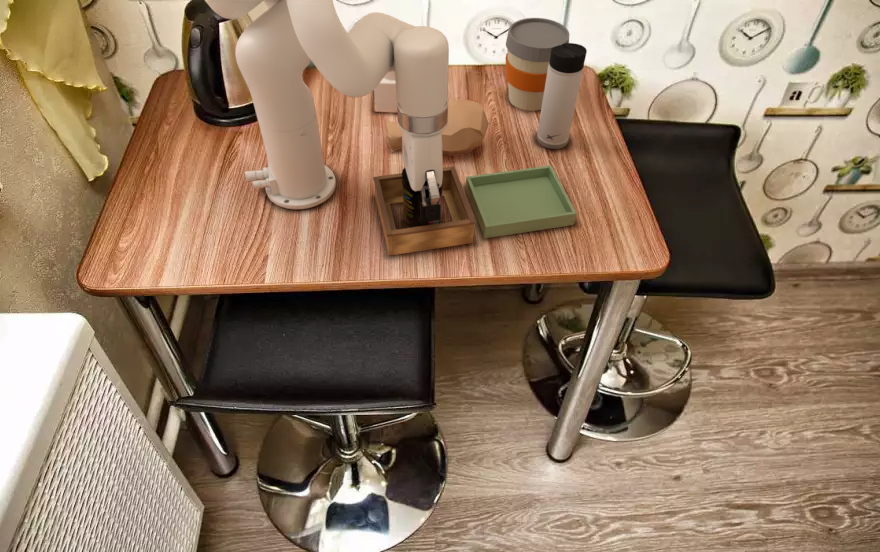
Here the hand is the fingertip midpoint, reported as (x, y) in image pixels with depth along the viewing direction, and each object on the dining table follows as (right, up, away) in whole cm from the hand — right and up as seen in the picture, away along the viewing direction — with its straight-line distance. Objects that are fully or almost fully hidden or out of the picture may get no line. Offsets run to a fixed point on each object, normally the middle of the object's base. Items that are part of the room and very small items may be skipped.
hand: (424, 200), depth 105 cm
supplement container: (0, -3, +4) cm, 5 cm away
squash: (+2, +13, +18) cm, 22 cm away
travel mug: (+25, +14, +19) cm, 35 cm away
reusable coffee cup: (+22, +25, +29) cm, 44 cm away
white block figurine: (-7, +24, +27) cm, 36 cm away
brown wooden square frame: (0, -3, +4) cm, 5 cm away
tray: (+17, 0, +6) cm, 18 cm away
